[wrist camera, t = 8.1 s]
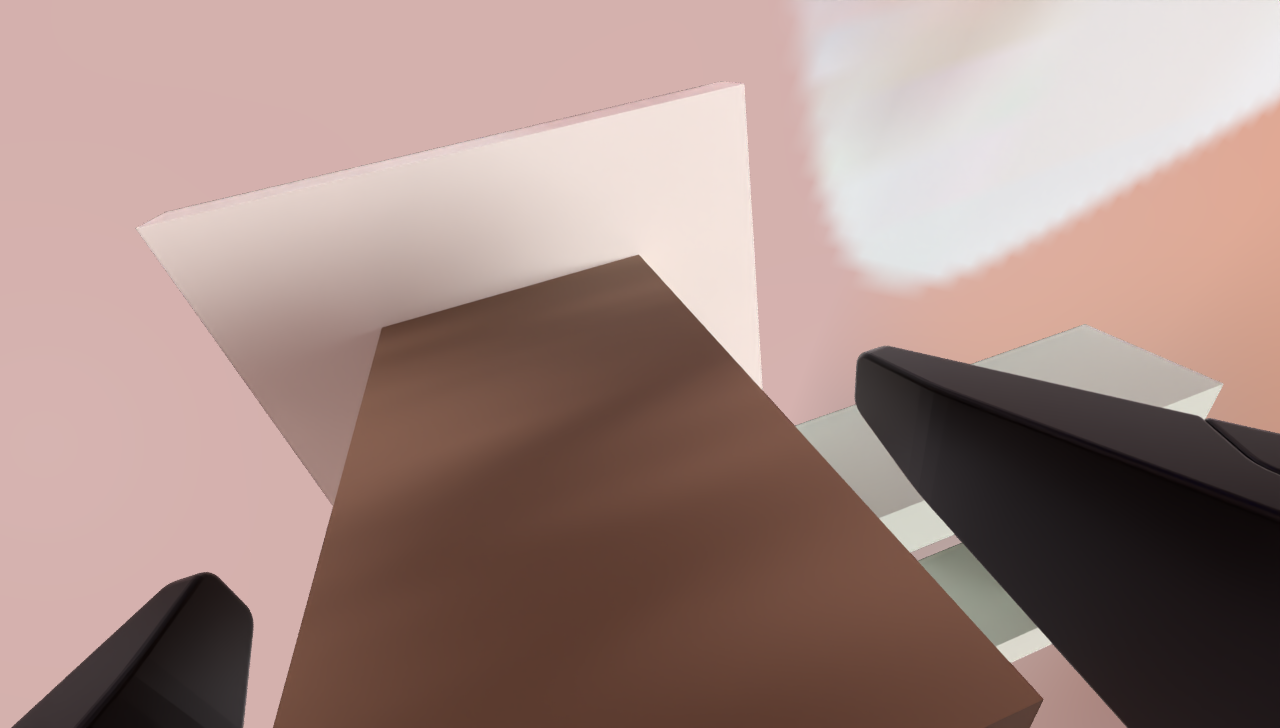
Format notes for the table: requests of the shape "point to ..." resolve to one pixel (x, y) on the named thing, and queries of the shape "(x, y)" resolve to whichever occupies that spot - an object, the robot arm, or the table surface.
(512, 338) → the walnut peg block
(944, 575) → the frame
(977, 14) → the table surface
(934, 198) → the table surface
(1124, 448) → the robot arm
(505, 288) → the tile
